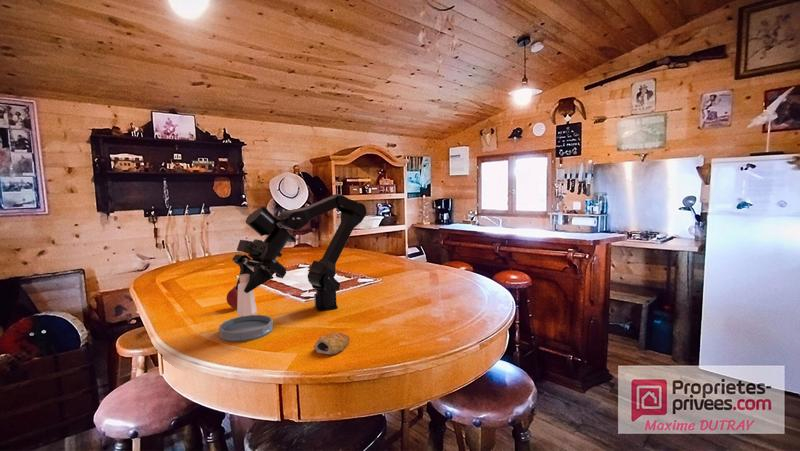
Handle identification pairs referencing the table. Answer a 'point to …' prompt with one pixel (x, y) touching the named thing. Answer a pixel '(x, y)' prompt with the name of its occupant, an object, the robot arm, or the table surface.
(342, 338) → the pastry
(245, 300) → the pepper shaker
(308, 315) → the table surface
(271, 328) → the dish
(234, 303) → the onion
